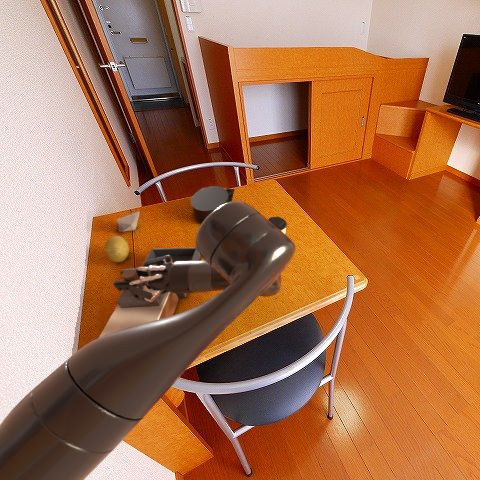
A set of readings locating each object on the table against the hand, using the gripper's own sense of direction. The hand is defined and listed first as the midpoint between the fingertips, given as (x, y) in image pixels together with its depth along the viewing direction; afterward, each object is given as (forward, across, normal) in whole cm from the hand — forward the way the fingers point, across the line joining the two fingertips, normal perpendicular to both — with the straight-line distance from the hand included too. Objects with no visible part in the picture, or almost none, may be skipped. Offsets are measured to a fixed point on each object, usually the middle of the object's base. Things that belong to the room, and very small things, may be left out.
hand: (119, 279), depth 63 cm
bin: (-3, -13, +13) cm, 19 cm away
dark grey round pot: (-9, -47, +14) cm, 50 cm away
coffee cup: (-34, -26, +14) cm, 45 cm away
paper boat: (+18, -38, +14) cm, 44 cm away
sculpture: (+14, -21, +14) cm, 29 cm away
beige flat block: (-3, +2, +13) cm, 14 cm away
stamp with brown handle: (-3, 0, +7) cm, 8 cm away
